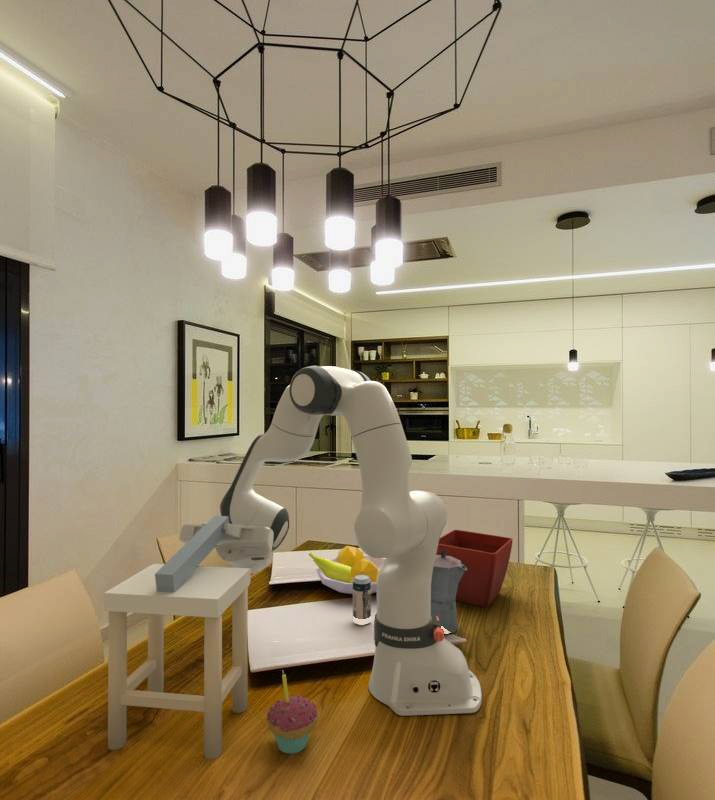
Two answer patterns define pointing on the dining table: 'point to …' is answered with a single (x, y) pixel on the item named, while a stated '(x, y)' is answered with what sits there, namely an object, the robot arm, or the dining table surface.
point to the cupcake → (292, 721)
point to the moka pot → (445, 589)
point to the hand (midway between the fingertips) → (214, 526)
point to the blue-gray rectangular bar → (190, 555)
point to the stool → (138, 594)
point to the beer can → (361, 596)
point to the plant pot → (478, 564)
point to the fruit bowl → (348, 569)
